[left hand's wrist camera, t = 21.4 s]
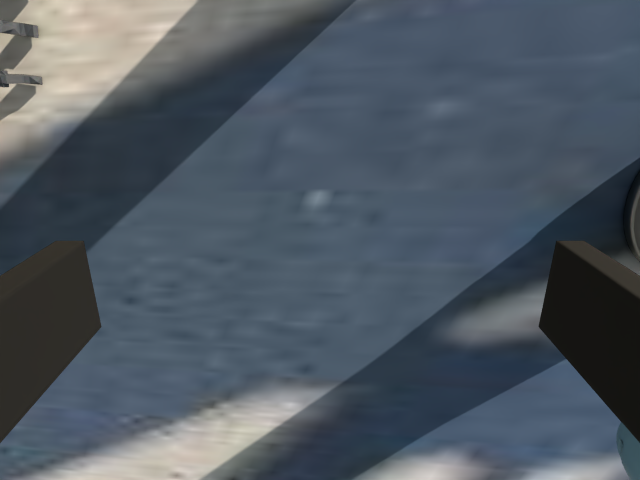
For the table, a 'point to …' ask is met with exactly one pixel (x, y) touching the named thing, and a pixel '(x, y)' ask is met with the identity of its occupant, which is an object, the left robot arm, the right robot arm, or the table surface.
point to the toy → (3, 78)
